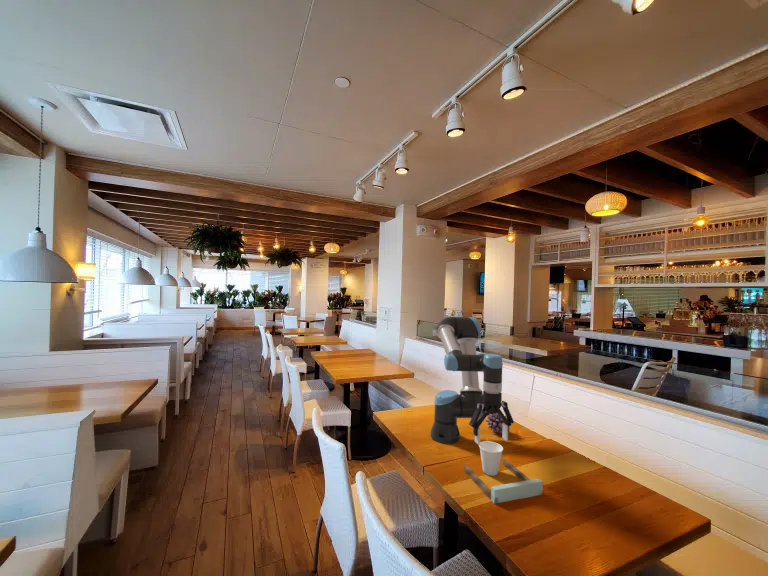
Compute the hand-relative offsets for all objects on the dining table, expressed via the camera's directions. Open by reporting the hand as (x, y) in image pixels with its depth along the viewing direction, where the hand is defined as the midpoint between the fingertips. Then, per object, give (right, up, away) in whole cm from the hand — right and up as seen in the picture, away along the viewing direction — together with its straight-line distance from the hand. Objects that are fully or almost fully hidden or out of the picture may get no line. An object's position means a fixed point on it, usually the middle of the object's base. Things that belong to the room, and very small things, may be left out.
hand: (491, 441), depth 138 cm
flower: (+16, -14, +38) cm, 44 cm away
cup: (0, -14, 0) cm, 14 cm away
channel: (+2, -13, -6) cm, 15 cm away
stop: (+4, -14, -16) cm, 21 cm away
